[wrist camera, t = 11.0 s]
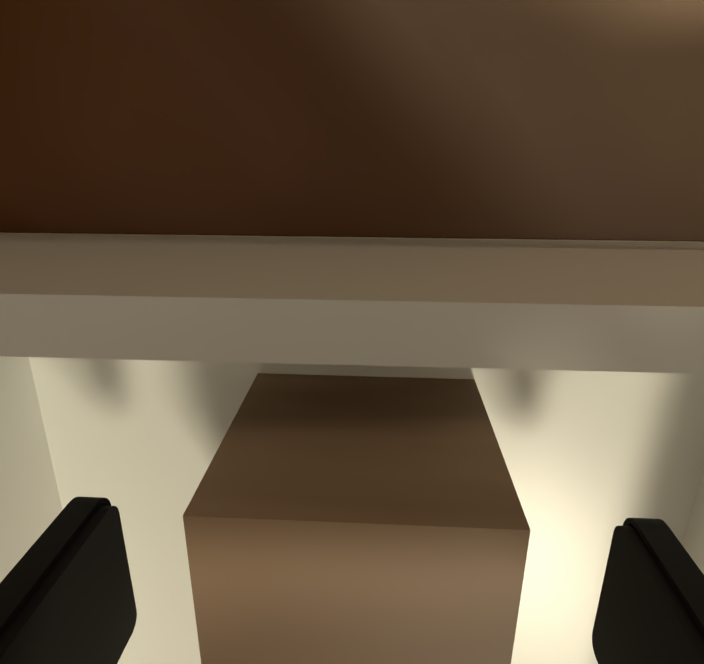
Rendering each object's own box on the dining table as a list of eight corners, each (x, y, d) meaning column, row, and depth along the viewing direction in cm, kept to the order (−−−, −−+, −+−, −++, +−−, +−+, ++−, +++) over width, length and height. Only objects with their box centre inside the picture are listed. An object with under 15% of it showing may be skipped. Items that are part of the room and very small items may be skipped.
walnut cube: (258, 373, 13) (182, 515, 8) (474, 379, 12) (530, 530, 8) (268, 545, 14) (211, 746, 10) (458, 554, 14) (496, 764, 9)
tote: (-10, 232, 13) (-239, 289, 8) (778, 242, 12) (1036, 313, 7) (115, 781, 20) (31, 984, 15) (619, 814, 19) (699, 1041, 14)
